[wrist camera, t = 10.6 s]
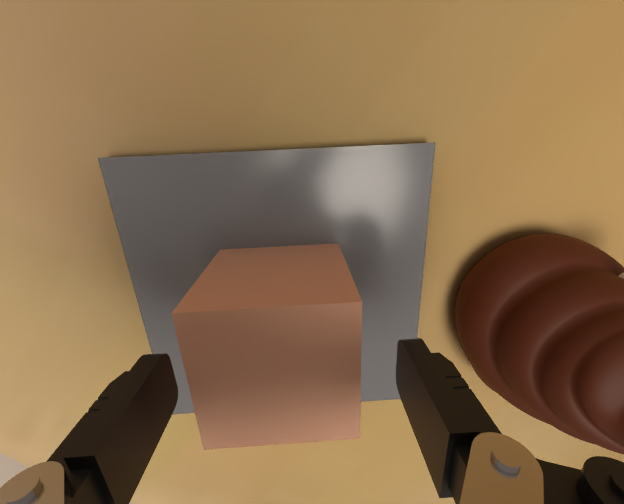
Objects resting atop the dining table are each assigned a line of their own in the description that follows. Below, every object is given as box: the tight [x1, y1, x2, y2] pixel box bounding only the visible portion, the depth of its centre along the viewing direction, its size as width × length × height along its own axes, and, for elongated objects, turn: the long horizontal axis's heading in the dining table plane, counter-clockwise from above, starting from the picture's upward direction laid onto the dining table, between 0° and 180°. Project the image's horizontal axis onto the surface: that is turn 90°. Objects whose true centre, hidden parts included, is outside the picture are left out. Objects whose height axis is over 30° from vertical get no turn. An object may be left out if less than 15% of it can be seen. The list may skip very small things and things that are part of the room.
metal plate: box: [98, 143, 435, 414], centre depth 15 cm, size 14×14×1 cm
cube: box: [171, 243, 362, 450], centre depth 12 cm, size 6×6×6 cm
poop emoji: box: [455, 234, 624, 454], centre depth 12 cm, size 10×8×9 cm
